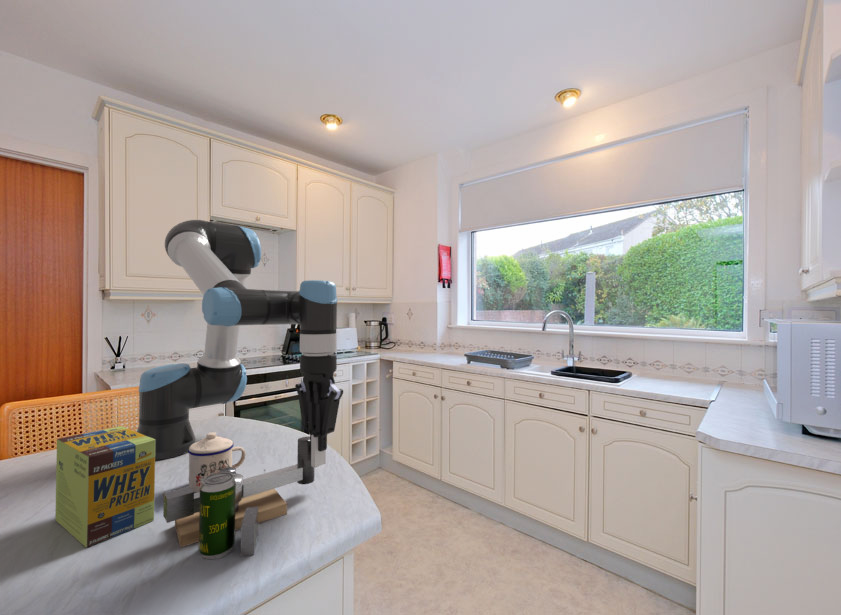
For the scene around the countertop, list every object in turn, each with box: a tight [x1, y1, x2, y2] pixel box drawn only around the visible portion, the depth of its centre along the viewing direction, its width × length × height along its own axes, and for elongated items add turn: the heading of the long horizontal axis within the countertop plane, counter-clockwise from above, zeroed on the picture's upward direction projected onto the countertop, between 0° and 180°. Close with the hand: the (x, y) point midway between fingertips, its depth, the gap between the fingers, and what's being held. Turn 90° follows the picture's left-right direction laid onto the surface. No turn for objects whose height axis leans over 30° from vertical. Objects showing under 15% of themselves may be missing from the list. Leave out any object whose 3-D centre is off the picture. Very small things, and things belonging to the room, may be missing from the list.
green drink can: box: [198, 472, 236, 560], centre depth 65 cm, size 5×5×12 cm
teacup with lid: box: [187, 431, 247, 493], centre depth 89 cm, size 12×9×12 cm
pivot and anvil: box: [220, 467, 259, 558], centre depth 70 cm, size 15×6×10 cm, turn 38°
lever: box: [162, 436, 315, 524], centre depth 76 cm, size 28×5×9 cm, turn 133°
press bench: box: [174, 488, 288, 548], centre depth 74 cm, size 8×18×2 cm, turn 128°
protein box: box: [54, 425, 156, 549], centre depth 73 cm, size 10×15×16 cm
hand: (318, 464), depth 82 cm, fingers closed
